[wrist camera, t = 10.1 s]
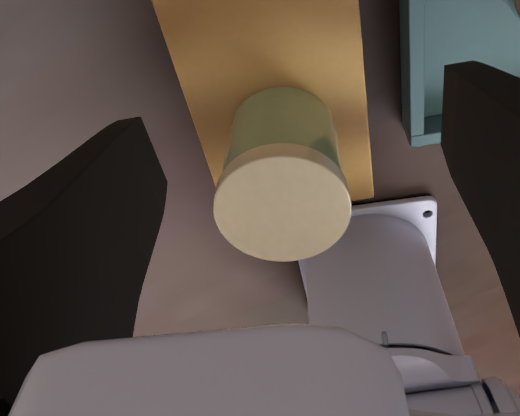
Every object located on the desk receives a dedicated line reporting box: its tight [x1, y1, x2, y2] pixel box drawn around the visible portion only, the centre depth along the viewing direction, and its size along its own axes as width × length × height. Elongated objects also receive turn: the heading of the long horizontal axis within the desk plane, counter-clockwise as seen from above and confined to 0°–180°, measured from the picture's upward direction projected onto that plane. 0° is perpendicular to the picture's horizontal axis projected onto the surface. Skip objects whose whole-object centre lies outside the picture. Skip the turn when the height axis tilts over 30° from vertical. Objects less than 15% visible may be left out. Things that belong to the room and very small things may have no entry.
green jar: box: [213, 87, 352, 262], centre depth 18 cm, size 5×5×5 cm
